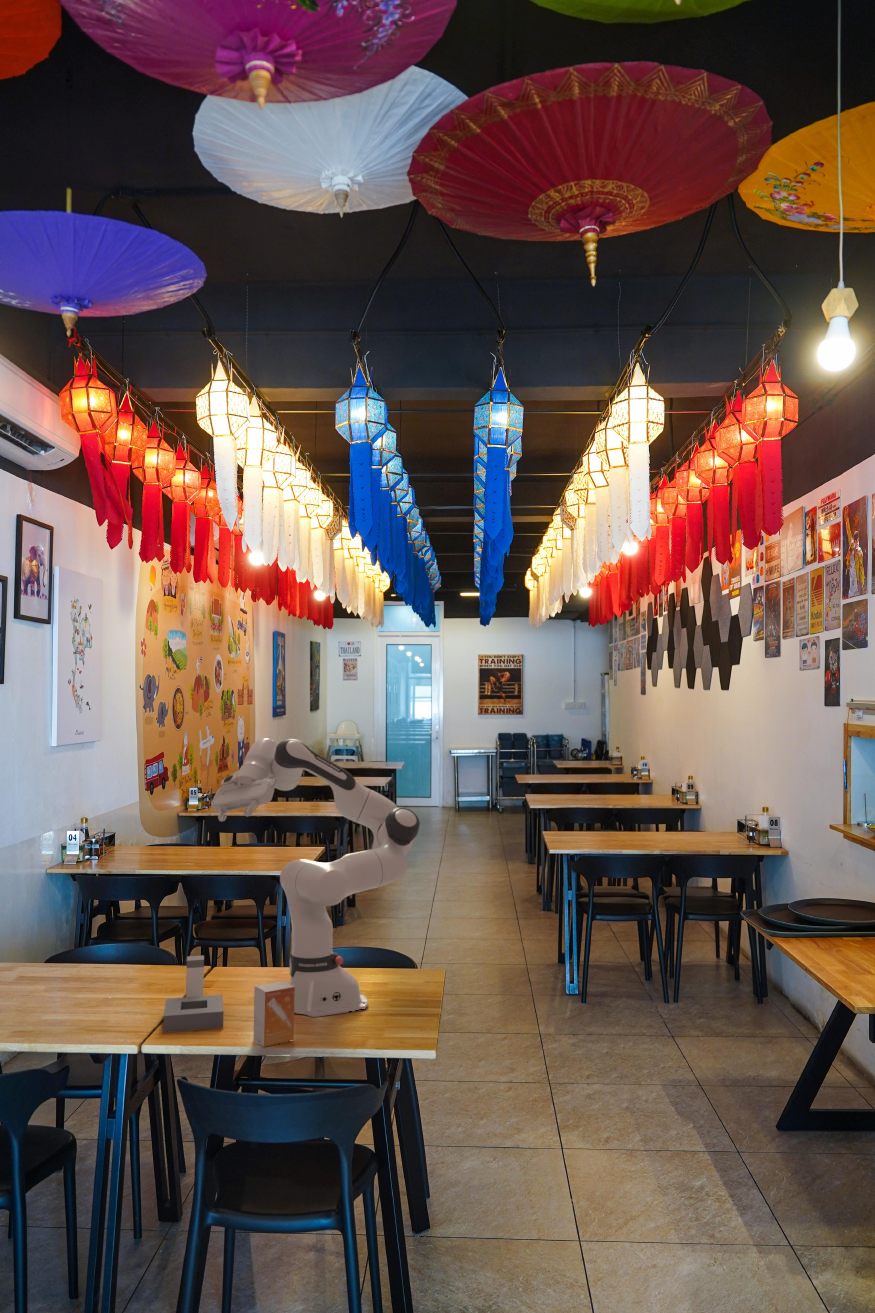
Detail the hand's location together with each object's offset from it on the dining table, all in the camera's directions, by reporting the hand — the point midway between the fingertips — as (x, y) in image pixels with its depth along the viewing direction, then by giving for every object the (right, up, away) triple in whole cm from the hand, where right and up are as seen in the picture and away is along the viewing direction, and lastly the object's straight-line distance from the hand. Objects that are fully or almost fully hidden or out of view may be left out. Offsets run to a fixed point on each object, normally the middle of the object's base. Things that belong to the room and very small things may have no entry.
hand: (233, 817), depth 256 cm
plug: (-9, -50, -10) cm, 51 cm away
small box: (+19, -47, -40) cm, 65 cm away
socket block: (-5, -48, -26) cm, 55 cm away
